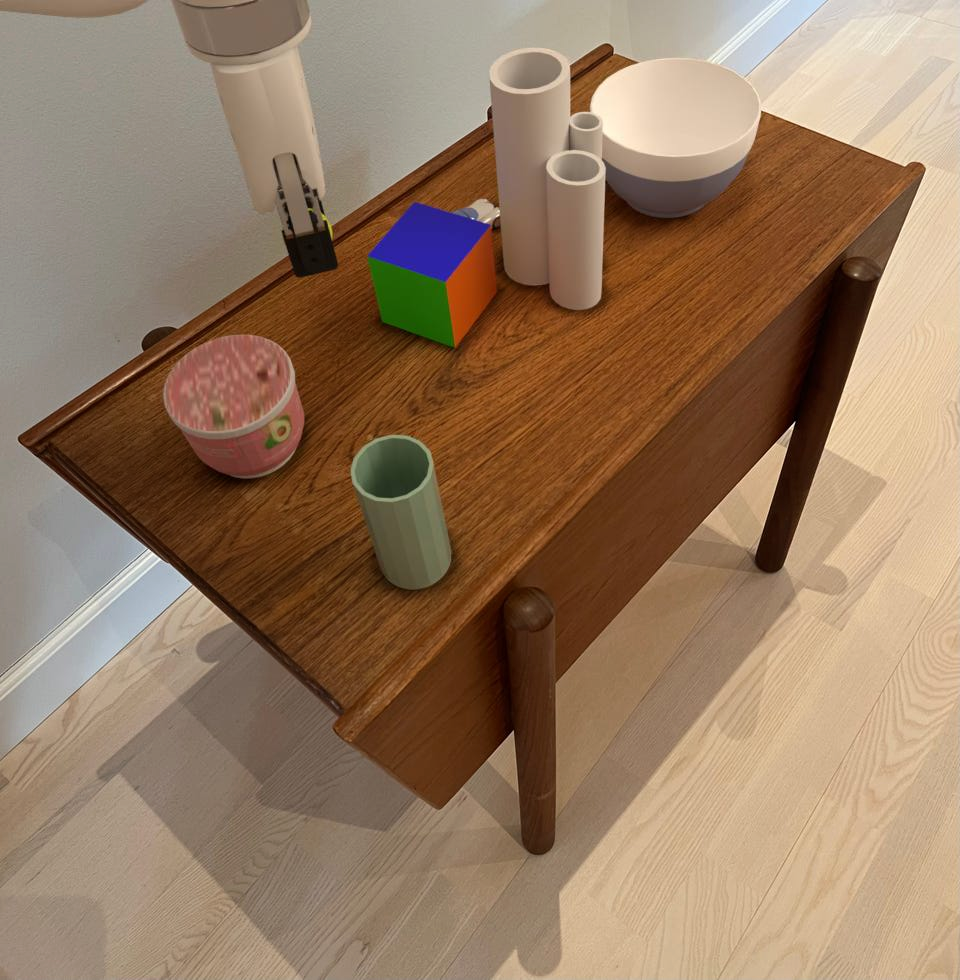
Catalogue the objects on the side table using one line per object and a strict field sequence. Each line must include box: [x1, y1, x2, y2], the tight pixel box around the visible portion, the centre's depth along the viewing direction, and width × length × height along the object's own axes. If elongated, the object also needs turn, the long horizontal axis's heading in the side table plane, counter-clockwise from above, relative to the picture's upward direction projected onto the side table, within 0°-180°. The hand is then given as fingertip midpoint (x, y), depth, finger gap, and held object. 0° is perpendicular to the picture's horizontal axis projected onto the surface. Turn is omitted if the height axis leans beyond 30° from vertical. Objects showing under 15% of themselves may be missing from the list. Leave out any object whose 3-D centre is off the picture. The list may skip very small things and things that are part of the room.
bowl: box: [589, 57, 762, 219], centre depth 93 cm, size 16×16×10 cm
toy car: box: [451, 198, 501, 230], centre depth 94 cm, size 4×12×3 cm, turn 126°
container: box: [162, 334, 305, 479], centre depth 78 cm, size 10×10×8 cm
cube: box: [366, 201, 498, 349], centre depth 86 cm, size 8×8×8 cm
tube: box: [349, 434, 452, 591], centre depth 69 cm, size 6×6×12 cm
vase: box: [488, 47, 606, 311], centre depth 83 cm, size 11×7×20 cm, turn 50°
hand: (311, 250), depth 69 cm, fingers closed on ball, 3 cm apart
